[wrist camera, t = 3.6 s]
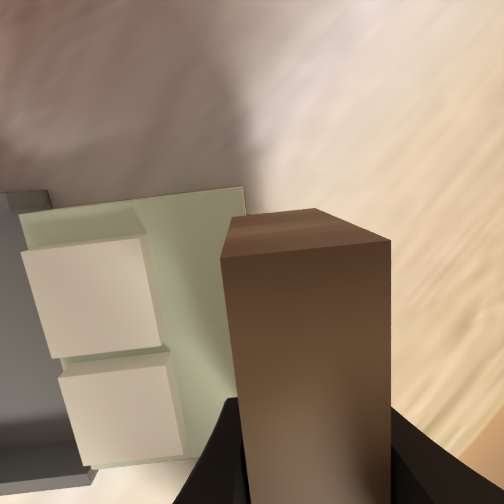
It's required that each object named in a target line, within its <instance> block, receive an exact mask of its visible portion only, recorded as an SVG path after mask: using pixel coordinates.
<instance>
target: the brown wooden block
mask: <svg viewBox="0 0 504 504" xmlns="http://www.w3.org/2000/svg"><path fill="white" fill-rule="evenodd" d="M220 264H221V272H222V280H223V287H224V295H225V303H226V311H227V318H228V326H229V334H230V342H231V349H232V357H233V365H234V373H235V380H236V388H237V396H238V404H239V411H240V419H241V427H242V435H243V443H244V450H245V458H246V466H247V474H248V481H249V489H250V497H251V504H391V240H389V239H387V238H384V237H382V236H380V235H377V234H375V233H373V232H370V231H368V230H365V229H363V228H361V227H358V226H356V225H354V224H351V223H349V222H347V221H344V220H342V219H339V218H337V217H335V216H332V215H330V214H328V213H325V212H323V211H320V210H318V209H316V208H312V209H302V210H293V211H283V212H274V213H264V214H255V215H245V216H235V217H232V219H231V222H230V225H229V229H228V232H227V235H226V239H225V242H224V245H223V249H222V252H221V256H220Z"/></svg>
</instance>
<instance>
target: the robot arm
mask: <svg viewBox="0 0 504 504" xmlns="http://www.w3.org/2000/svg"><path fill="white" fill-rule="evenodd" d="M173 504H251V497H250V489H249V481H248V474H247V466H246V458H245V450H244V443H243V435H242V427H241V419H240V411H239V404H238V397H231V398H227V399H226V400H225V402H224V405H223V408H222V410H221V413H220V416H219V418H218V420H217V423H216V425H215V427H214V429H213V432H212V434H211V436H210V438H209V440H208V442H207V444H206V446H205V448H204V450H203V452H202V454H201V456H200V458H199V460H198V461H197V463H196V465H195V467H194V468H193V470H192V472H191V474H190V475H189V477H188V479H187V481H186V483H185V484H184V486H183V488H182V489H181V491H180V492H179V494H178V496H177V497H176V499H175V500H174V502H173ZM391 504H504V490H502V489H501V488H499V487H498V486H496V485H495V484H493V483H492V482H490V481H489V480H487V479H486V478H484V477H483V476H481V475H480V474H478V473H477V472H475V471H474V470H472V469H471V468H469V467H468V466H466V465H465V464H464V463H462V462H461V461H459V460H458V459H457V458H455V457H454V456H453V455H451V454H450V453H448V452H447V451H446V450H444V449H443V448H442V447H440V446H439V445H438V444H436V443H435V442H434V441H432V440H431V439H430V438H429V437H427V436H426V435H425V434H424V433H422V432H421V431H420V430H419V429H417V428H416V427H415V426H414V425H413V424H411V423H410V422H409V421H408V420H406V419H405V418H404V417H403V416H402V415H401V414H399V413H398V412H397V411H396V410H395V409H394V408H392V407H391Z"/></svg>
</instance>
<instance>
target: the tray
mask: <svg viewBox="0 0 504 504" xmlns="http://www.w3.org/2000/svg"><path fill="white" fill-rule="evenodd" d="M50 209H52V207H51V203H50V199H49V196H48V192H47V190H41V191H24V192H7V193H0V496H2V495H11V494H19V493H28V492H37V491H45V490H54V489H63V488H71V487H80V486H89V485H91V484H92V482H93V480H94V478H95V476H96V474H97V472H98V470H99V469H96V470H92V469H91V465H89V466H83V463H82V460H81V456H80V453H79V450H78V446H77V443H76V439H75V436H74V433H73V429H72V426H71V422H70V419H69V416H68V412H67V409H66V405H65V402H64V399H63V395H62V392H61V388H60V385H59V382H58V377H59V376H60V375H61V374H62V373H63V372H64V371H63V368H62V364H61V361H60V358H54V359H52V358H51V354H50V351H49V348H48V344H47V341H46V338H45V334H44V331H43V327H42V324H41V321H40V317H39V314H38V310H37V307H36V304H35V300H34V297H33V293H32V290H31V287H30V283H29V280H28V276H27V273H26V270H25V266H24V263H23V259H22V256H21V253H20V252H22V251H25V250H28V246H27V243H26V239H25V236H24V232H23V229H22V226H21V222H20V219H19V214H25V213H32V212H38V211H44V210H50Z"/></svg>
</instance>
